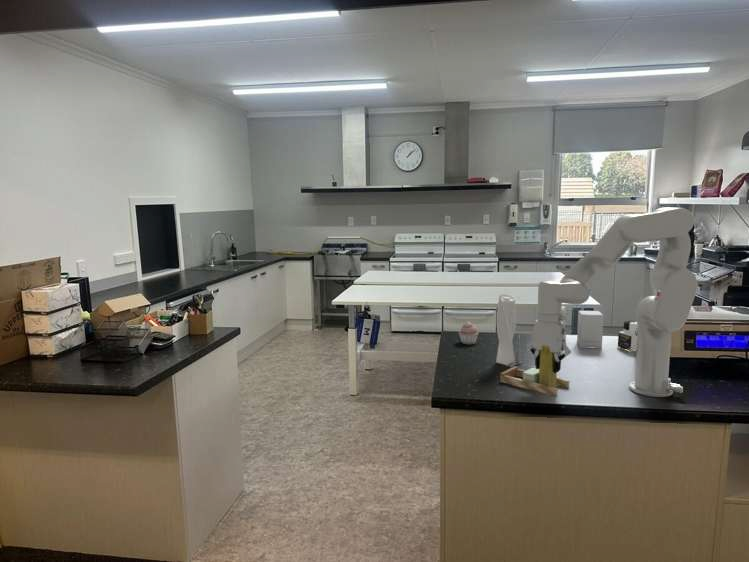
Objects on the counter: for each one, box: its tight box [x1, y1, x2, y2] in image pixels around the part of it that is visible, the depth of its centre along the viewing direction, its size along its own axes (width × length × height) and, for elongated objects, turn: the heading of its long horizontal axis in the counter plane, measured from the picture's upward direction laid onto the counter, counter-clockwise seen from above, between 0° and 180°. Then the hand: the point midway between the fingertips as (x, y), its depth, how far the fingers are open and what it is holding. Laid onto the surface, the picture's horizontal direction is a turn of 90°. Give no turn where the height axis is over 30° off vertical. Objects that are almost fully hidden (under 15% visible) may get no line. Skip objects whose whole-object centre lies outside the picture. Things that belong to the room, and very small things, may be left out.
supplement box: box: [576, 310, 604, 349], centre depth 213 cm, size 9×9×15 cm
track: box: [499, 365, 571, 397], centre depth 168 cm, size 20×10×3 cm, turn 46°
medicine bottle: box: [617, 320, 638, 352], centre depth 208 cm, size 7×7×12 cm
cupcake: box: [458, 321, 480, 345], centre depth 222 cm, size 9×9×10 cm
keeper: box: [522, 367, 539, 383], centre depth 168 cm, size 4×7×4 cm, turn 136°
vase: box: [538, 345, 558, 388], centre depth 164 cm, size 6×6×14 cm
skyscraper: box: [495, 294, 522, 368], centre depth 190 cm, size 8×8×28 cm
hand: (547, 369), depth 164 cm, fingers closed on vase, 5 cm apart
